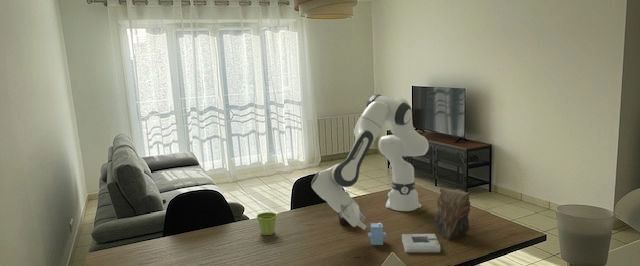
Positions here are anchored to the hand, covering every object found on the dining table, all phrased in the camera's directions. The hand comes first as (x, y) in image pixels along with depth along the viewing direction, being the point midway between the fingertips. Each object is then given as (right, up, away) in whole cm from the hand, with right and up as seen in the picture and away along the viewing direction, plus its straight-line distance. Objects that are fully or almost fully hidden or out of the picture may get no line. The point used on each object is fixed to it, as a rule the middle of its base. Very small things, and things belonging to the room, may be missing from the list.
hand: (364, 223), depth 191 cm
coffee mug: (-7, -5, +26) cm, 28 cm away
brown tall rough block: (+39, -6, +7) cm, 40 cm away
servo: (+5, -8, +1) cm, 10 cm away
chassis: (+23, -8, -4) cm, 25 cm away
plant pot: (-44, -8, +16) cm, 47 cm away
